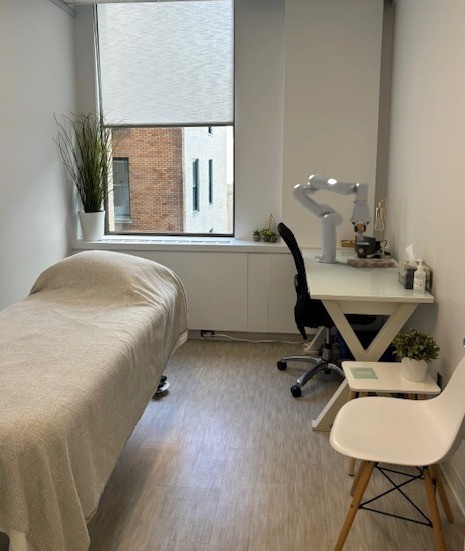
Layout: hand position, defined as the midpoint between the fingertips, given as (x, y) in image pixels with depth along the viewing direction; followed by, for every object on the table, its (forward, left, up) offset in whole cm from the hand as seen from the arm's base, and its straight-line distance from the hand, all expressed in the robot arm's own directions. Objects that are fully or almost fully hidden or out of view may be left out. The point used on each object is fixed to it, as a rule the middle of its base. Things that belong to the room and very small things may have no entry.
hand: (360, 231), depth 340 cm
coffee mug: (+12, +28, -22) cm, 37 cm away
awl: (0, 0, -6) cm, 6 cm away
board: (+8, 0, -21) cm, 23 cm away
